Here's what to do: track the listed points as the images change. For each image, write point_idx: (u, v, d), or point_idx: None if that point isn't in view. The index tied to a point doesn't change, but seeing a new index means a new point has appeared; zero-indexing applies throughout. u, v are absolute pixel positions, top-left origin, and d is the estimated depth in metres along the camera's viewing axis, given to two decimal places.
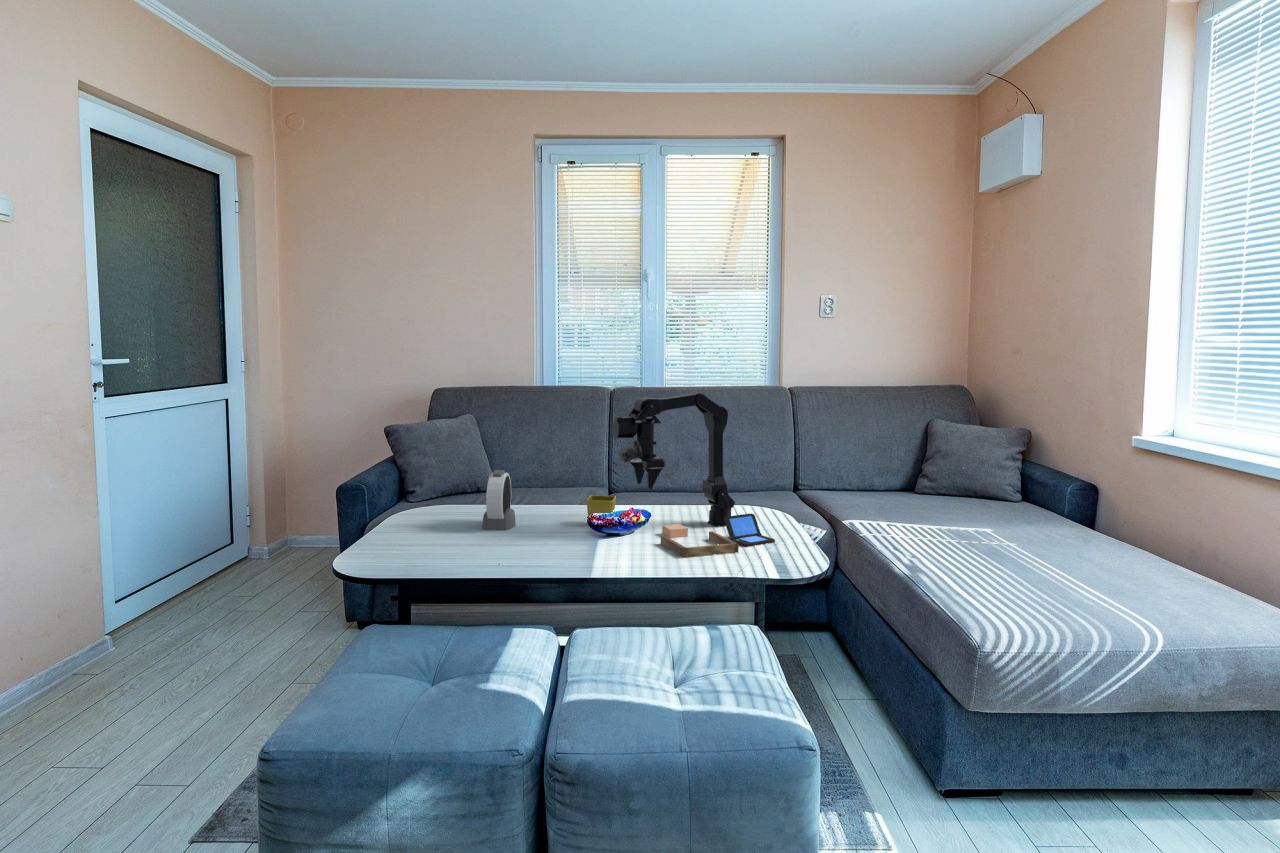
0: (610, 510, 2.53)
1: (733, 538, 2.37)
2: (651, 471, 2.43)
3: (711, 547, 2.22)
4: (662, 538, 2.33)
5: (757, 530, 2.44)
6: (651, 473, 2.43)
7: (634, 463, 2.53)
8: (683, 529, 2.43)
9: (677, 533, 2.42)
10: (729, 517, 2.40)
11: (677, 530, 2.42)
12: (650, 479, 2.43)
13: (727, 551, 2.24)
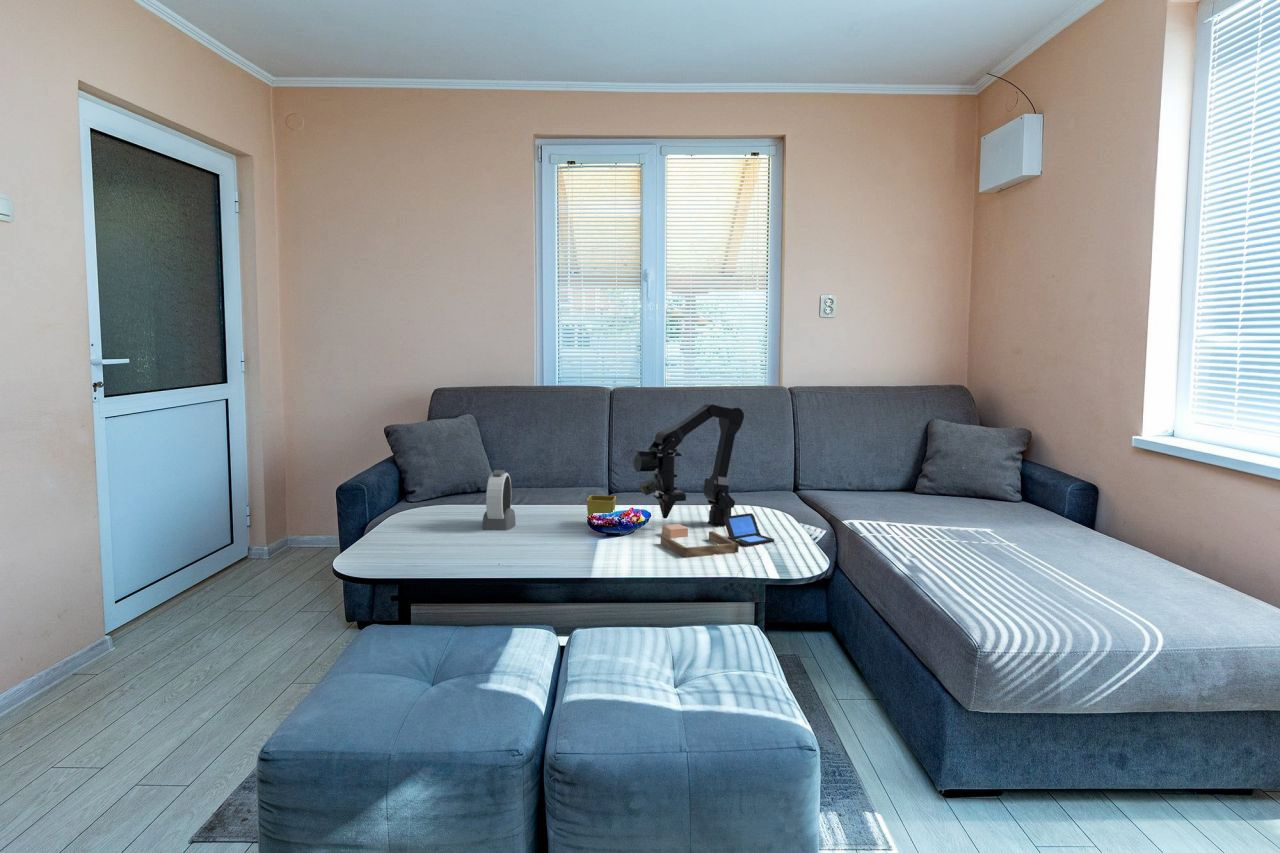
0: (610, 510, 2.53)
1: (733, 538, 2.37)
2: (666, 501, 2.50)
3: (711, 547, 2.22)
4: (662, 538, 2.33)
5: (756, 530, 2.44)
6: (666, 503, 2.50)
7: (660, 497, 2.52)
8: (683, 529, 2.43)
9: (677, 533, 2.42)
10: (729, 517, 2.41)
11: (677, 530, 2.42)
12: (665, 509, 2.50)
13: (727, 551, 2.24)
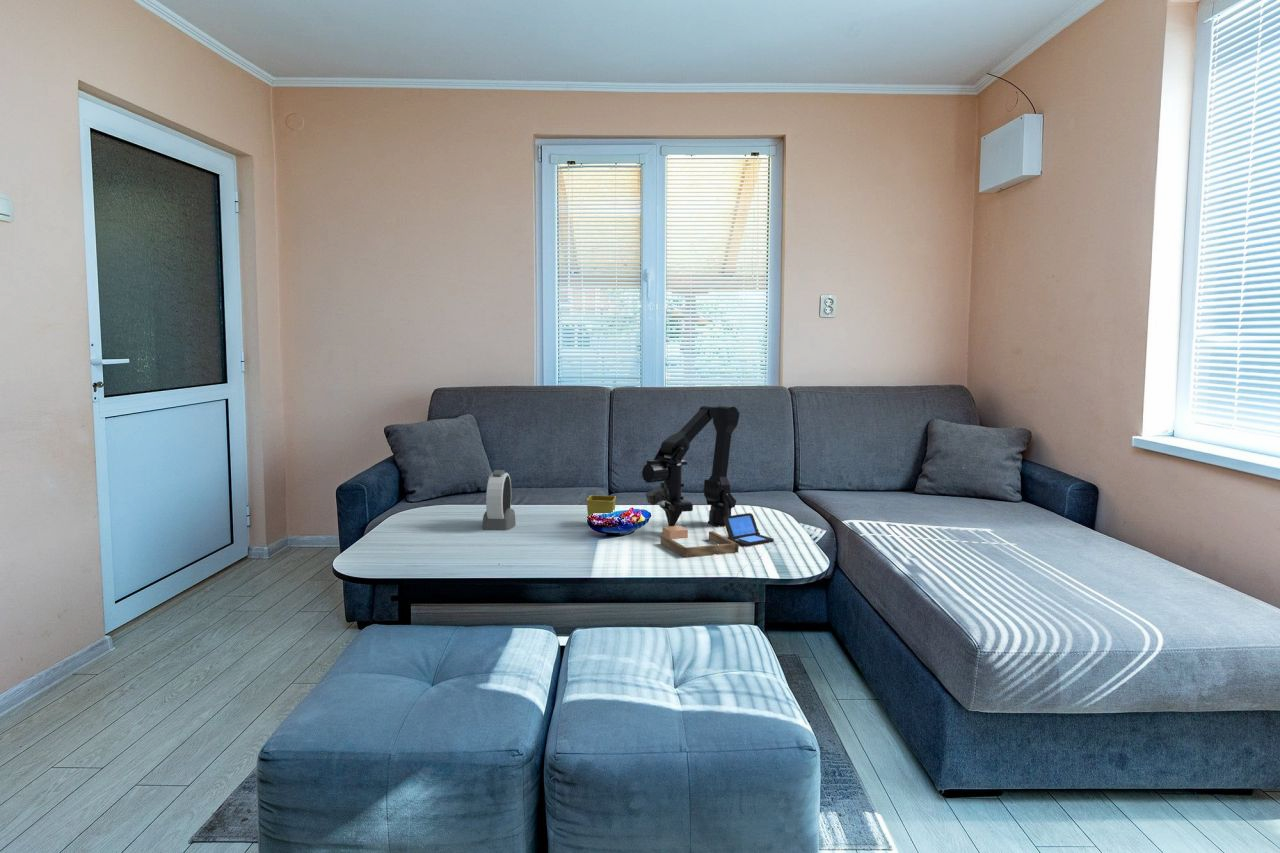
0: (610, 510, 2.53)
1: (732, 538, 2.37)
2: (673, 511, 2.45)
3: (711, 547, 2.22)
4: (662, 538, 2.33)
5: (755, 530, 2.44)
6: (673, 513, 2.46)
7: (666, 507, 2.47)
8: (683, 531, 2.41)
9: (677, 534, 2.41)
10: (728, 517, 2.41)
11: (677, 532, 2.41)
12: (671, 519, 2.46)
13: (727, 551, 2.24)
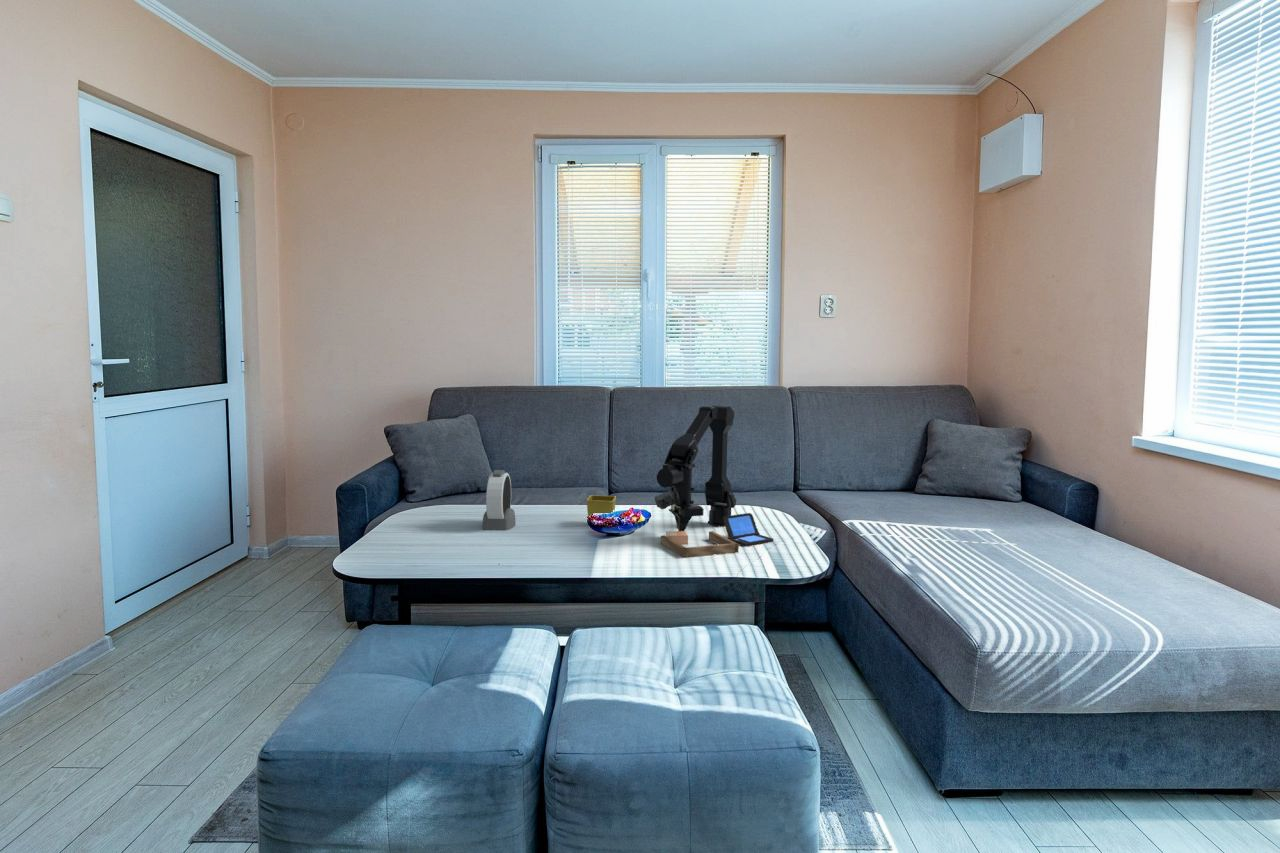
0: (610, 510, 2.53)
1: (732, 538, 2.38)
2: (682, 516, 2.39)
3: (711, 547, 2.22)
4: (662, 538, 2.33)
5: (755, 530, 2.44)
6: (682, 518, 2.39)
7: (676, 511, 2.40)
8: (682, 536, 2.34)
9: (676, 540, 2.33)
10: (728, 517, 2.41)
11: (676, 537, 2.33)
12: (681, 523, 2.39)
13: (727, 551, 2.24)
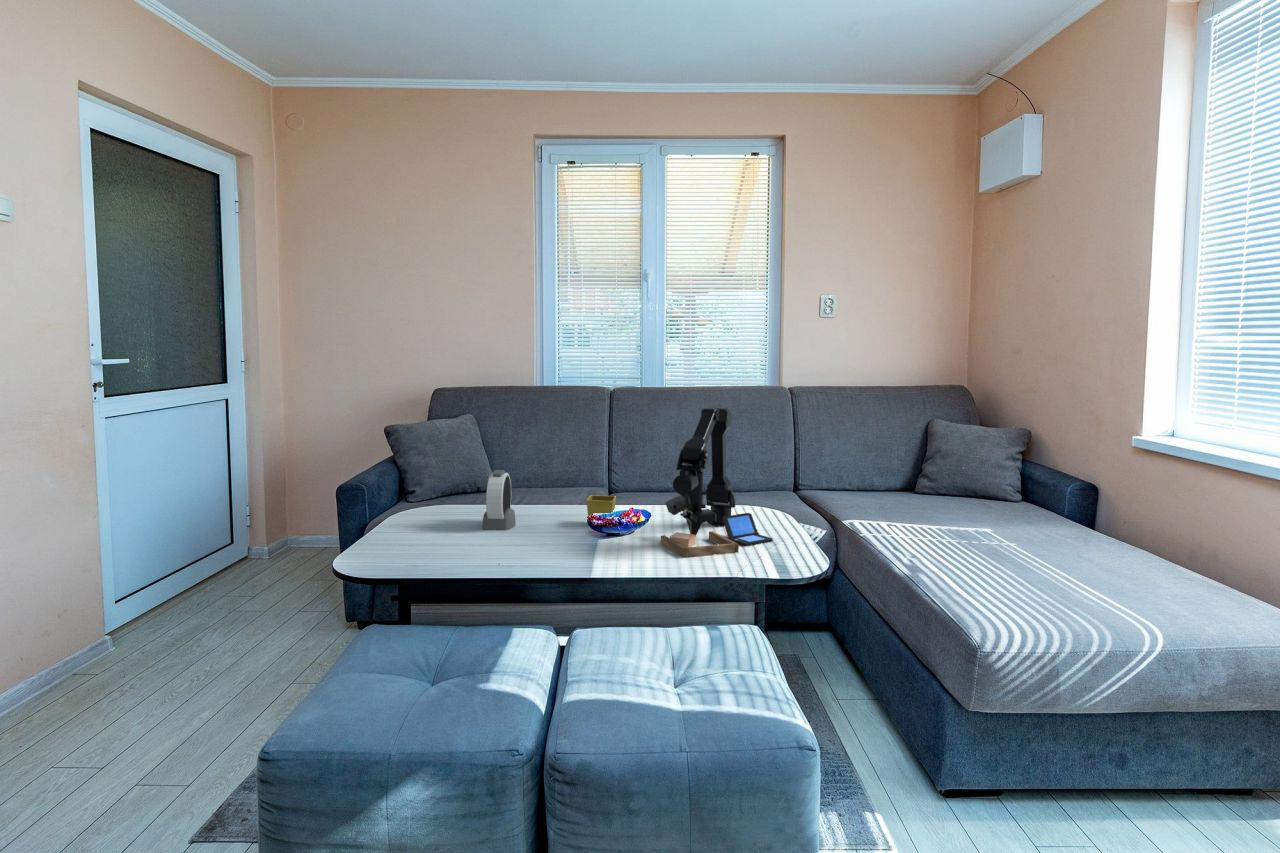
0: (610, 510, 2.53)
1: (732, 538, 2.38)
2: (694, 520, 2.34)
3: (711, 547, 2.22)
4: (662, 538, 2.33)
5: (754, 529, 2.45)
6: (694, 522, 2.34)
7: (688, 516, 2.34)
8: (683, 539, 2.29)
9: (677, 542, 2.30)
10: (727, 517, 2.41)
11: (677, 539, 2.30)
12: (693, 528, 2.34)
13: (727, 551, 2.24)
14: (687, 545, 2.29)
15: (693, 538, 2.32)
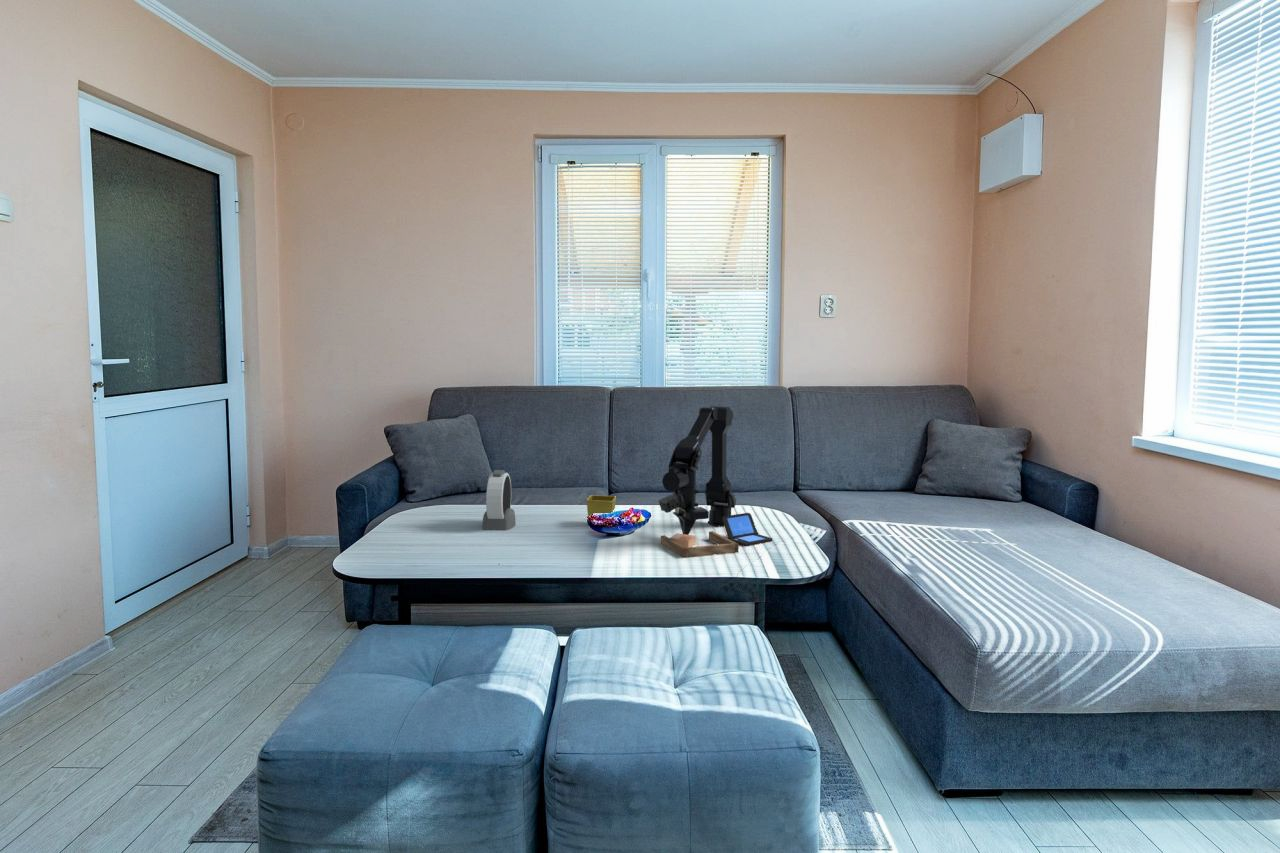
0: (610, 510, 2.53)
1: (731, 538, 2.38)
2: (687, 519, 2.37)
3: (711, 547, 2.22)
4: (662, 538, 2.33)
5: (754, 529, 2.45)
6: (687, 521, 2.37)
7: (680, 514, 2.38)
8: (683, 540, 2.29)
9: None
10: (727, 517, 2.41)
11: (677, 540, 2.30)
12: (686, 526, 2.37)
13: (727, 551, 2.24)
14: (687, 546, 2.29)
15: (693, 539, 2.32)
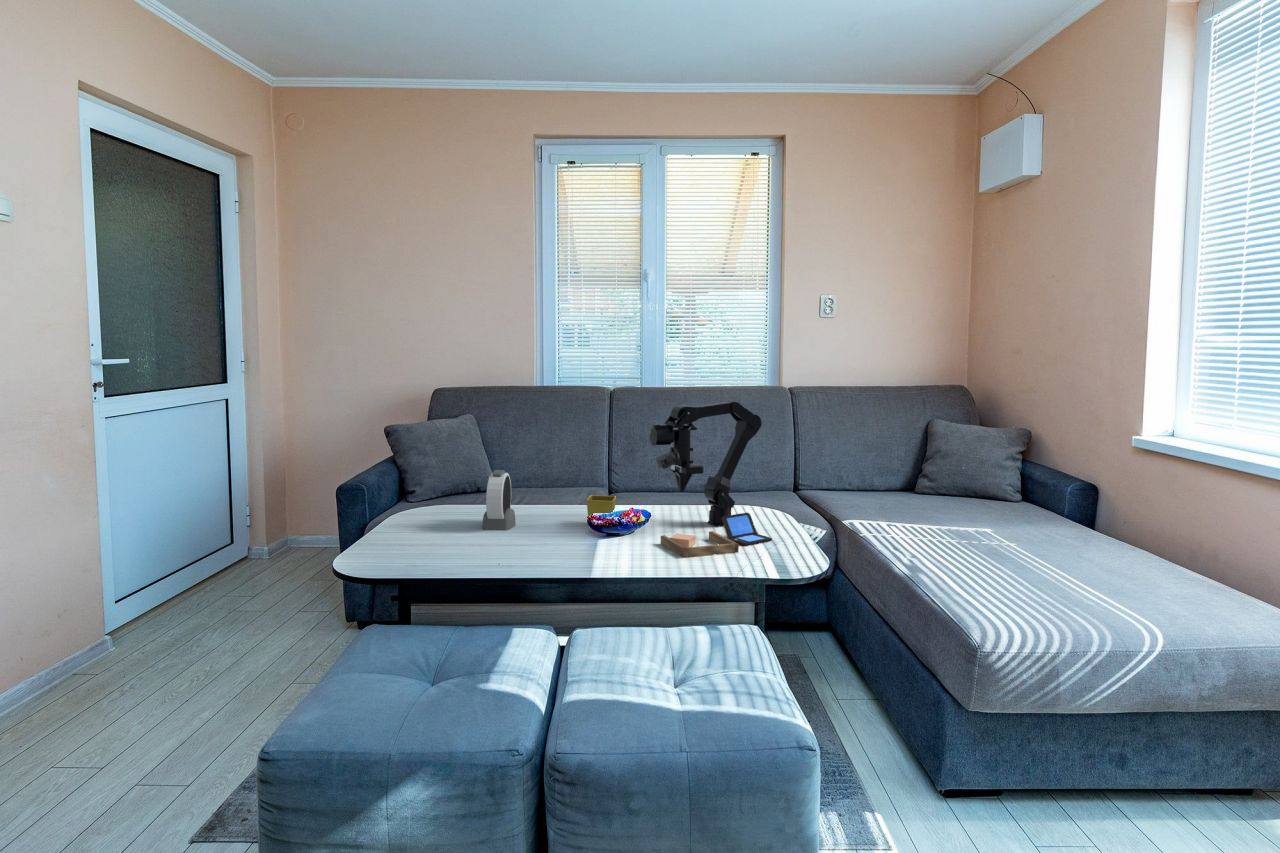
0: (610, 510, 2.53)
1: (731, 537, 2.38)
2: (683, 475, 2.53)
3: (711, 547, 2.22)
4: (662, 538, 2.33)
5: (753, 529, 2.45)
6: (683, 477, 2.53)
7: (676, 471, 2.54)
8: (684, 540, 2.29)
9: None
10: (726, 517, 2.41)
11: (677, 540, 2.30)
12: (682, 482, 2.53)
13: (727, 551, 2.24)
14: (687, 546, 2.29)
15: (693, 539, 2.32)
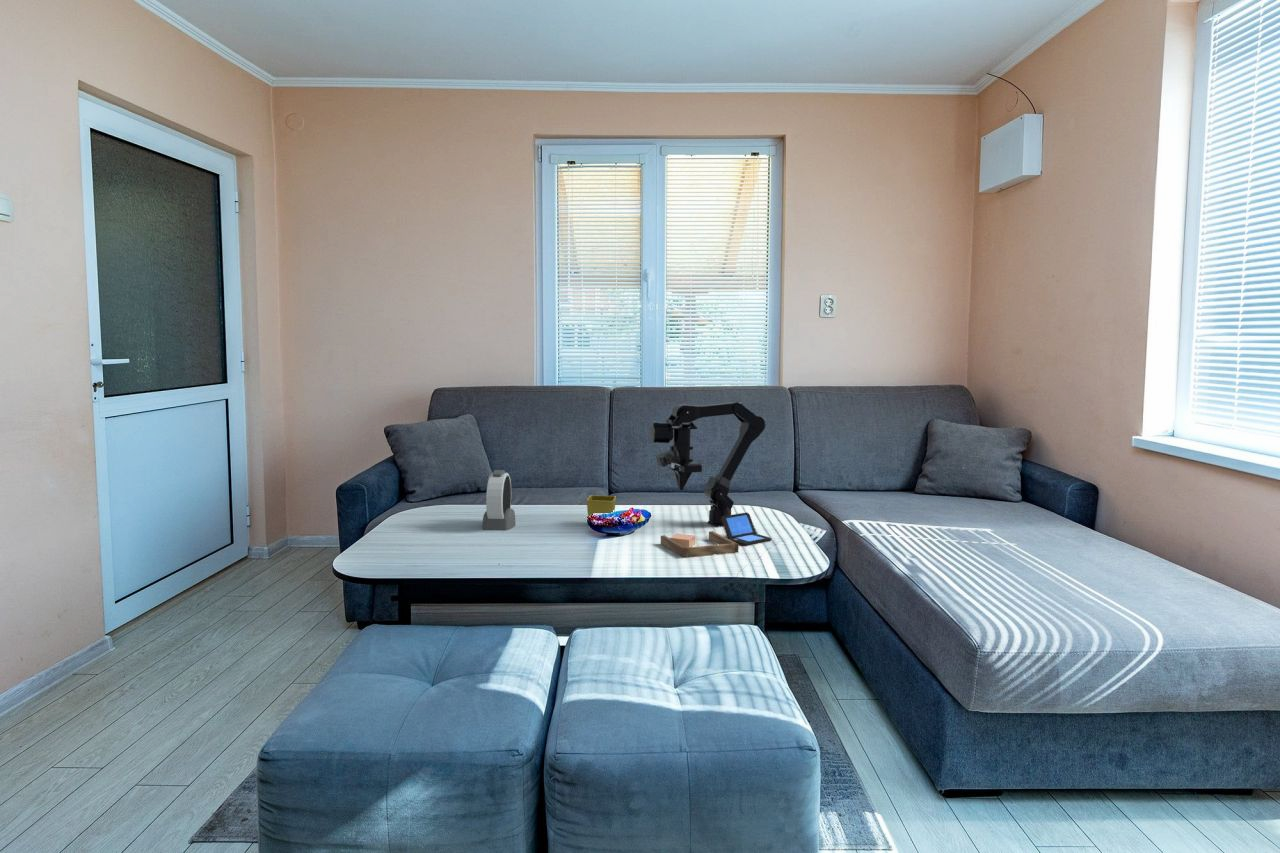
0: (610, 510, 2.53)
1: (731, 537, 2.38)
2: (682, 473, 2.55)
3: (711, 547, 2.22)
4: (662, 538, 2.33)
5: (752, 529, 2.45)
6: (682, 475, 2.55)
7: (676, 469, 2.56)
8: (684, 540, 2.29)
9: None
10: (726, 516, 2.41)
11: (677, 540, 2.30)
12: (681, 480, 2.55)
13: (727, 551, 2.24)
14: (688, 546, 2.29)
15: (693, 539, 2.32)
